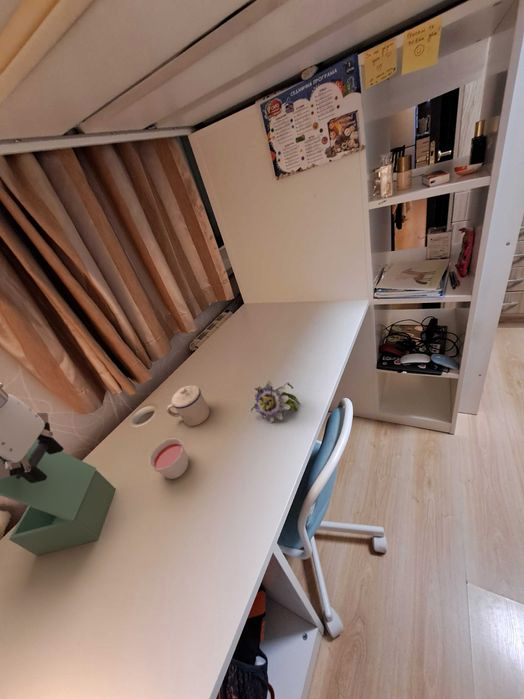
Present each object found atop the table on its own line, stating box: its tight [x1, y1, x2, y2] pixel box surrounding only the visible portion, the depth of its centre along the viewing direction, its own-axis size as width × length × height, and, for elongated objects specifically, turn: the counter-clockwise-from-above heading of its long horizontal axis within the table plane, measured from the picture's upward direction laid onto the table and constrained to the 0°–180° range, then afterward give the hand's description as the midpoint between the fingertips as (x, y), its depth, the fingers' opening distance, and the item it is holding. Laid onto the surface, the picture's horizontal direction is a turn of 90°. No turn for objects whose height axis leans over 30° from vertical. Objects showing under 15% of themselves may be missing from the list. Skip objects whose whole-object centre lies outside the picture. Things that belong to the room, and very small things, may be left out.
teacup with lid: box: [166, 384, 211, 427], centre depth 88 cm, size 12×9×12 cm
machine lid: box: [0, 440, 97, 522], centre depth 62 cm, size 16×13×5 cm
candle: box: [148, 437, 189, 480], centre depth 75 cm, size 9×9×6 cm
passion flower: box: [250, 380, 301, 424], centre depth 82 cm, size 11×11×12 cm
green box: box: [8, 469, 116, 556], centre depth 70 cm, size 16×13×9 cm
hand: (48, 464), depth 60 cm, fingers closed on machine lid, 6 cm apart
